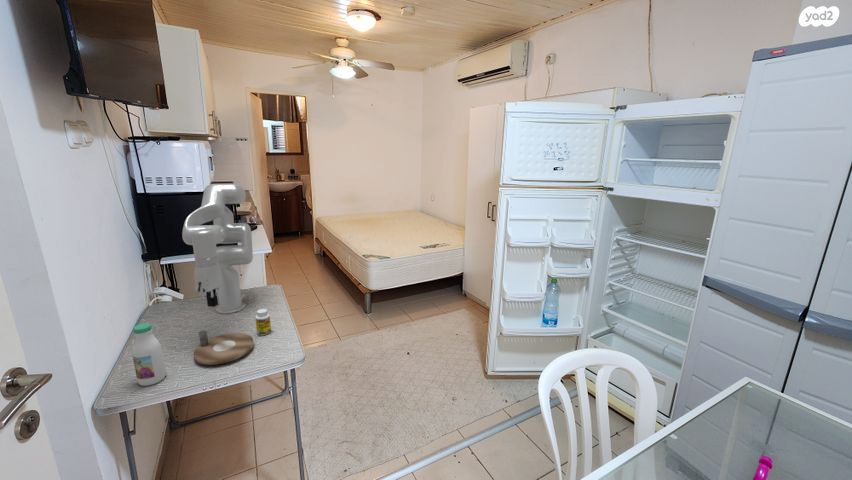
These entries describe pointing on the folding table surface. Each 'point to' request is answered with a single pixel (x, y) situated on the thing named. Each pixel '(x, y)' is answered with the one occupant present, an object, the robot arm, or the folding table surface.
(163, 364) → the milk bottle
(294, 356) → the folding table surface
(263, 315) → the supplement bottle
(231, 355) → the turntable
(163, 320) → the folding table surface
